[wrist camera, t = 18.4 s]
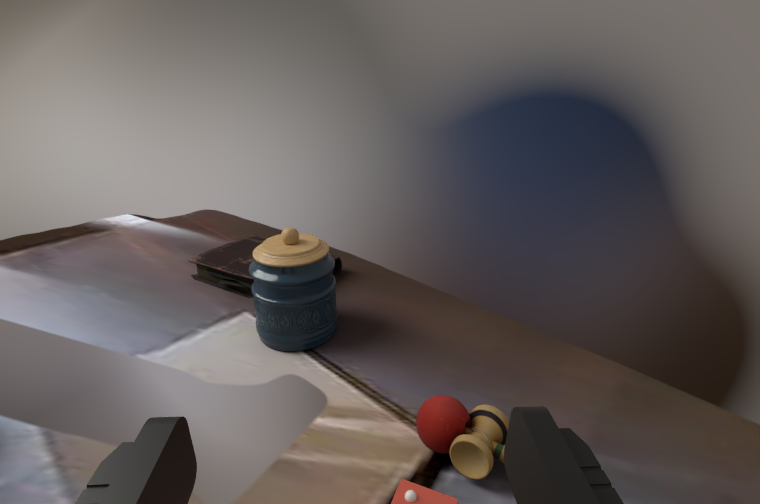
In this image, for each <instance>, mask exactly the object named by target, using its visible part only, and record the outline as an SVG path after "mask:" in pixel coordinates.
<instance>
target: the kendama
mask: <svg viewBox="0 0 760 504" xmlns="http://www.w3.org/2000/svg"><path fill="white" fill-rule="evenodd" d="M416 424H417V431H418V435H419V437H420V439H421V440H422V442H423V443H424V444H425V445H426V446H427V447H428V448H429V449H431V450H433V451H435V452H438V453H443V454H447V453H449V454H450V458H451V461H452V463H453V465H454V467H455V468H456V469H457V470H458V471H459V472H460V473H461V474H462V475H464V476H466V477H468V478H470V479H475V480H479V479H483V478H485V477H487V475H488V474H489V473H490V471H491V470H492V468H493V463H494V460H493V456H494V457H495V458H497V459H498V460H499V461H501V462H502V463H503V464H505V463H504V448H505V443H506V438H507V432H508V427H509V421H508V419H507V417H506V416H505V415H504V413H502V412H501V411H500V410H499V409H497V408H496V407H493V406H490V405H479V406H477V407H475V408H474V409H473V410H472V411H471V413H470V414H468V411H467V410H466V408H465V407H464V405H463V404H462V403H461V402H460V401H458V400H457V399H455V398H453V397H451V396H447V395H437V396H434V397H431V398H429V399H428V400H426V401H425V403H424V404H423V405H422V406H421V408H420V410H419V412H418V415H417V423H416Z"/></svg>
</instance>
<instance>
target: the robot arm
mask: <svg viewBox="0 0 760 504" xmlns="http://www.w3.org/2000/svg"><path fill="white" fill-rule="evenodd" d="M504 463H505V469H506V474H507V477H508V480H509V483H510V485H511V488H512V491H513V494H514V496H515V499H516V502H517V504H623V502H622V500H621V499H620V497H619V495H618V494H617V492H616V490H615V489H614V488H612V486H611V482H610V481H609V479H608V477H607V476H606V474H605V472H604V471H603V470H601V466H600V464H599V462H598V461H597V459H596V458H595V456H594V454H593V453H592V451H591V449H590V448H589V446H588V445H587V444H586V443H585V442H584V441H583V440H582V439H581V438H579V437H578V436H577V435H576V434H575V433H574V432H573V431H572V430H571V429H570V428H561V429H558V427H557V425H556V423H555V421H554V420H553V418H552V416H551V414H550V412H549V411H548V409H547V408H545V407H544V406H540V407H514V408H513V409H512V411H511V416H510V421H509V427H508V432H507V438H506V443H505V448H504ZM196 469H197V463H196V457H195V453H194V449H193V444H192V440H191V436H190V432H189V427H188V423H187V420H186V418H184V417H157V418H150V419H148V420H147V422H146V423H145V424H144V426H143V428H142V429H141V431H140V433H139V434H138V436H137V438H136V440H135V441H134V442H123V443H122V444H121V445H120V446H118V447H117V448H116V449H115V450H114V451H113V452H112V453H111V454H110V455H109V456H108V457H106V458H105V459H104V460H103V461H102V462H101V464H100V465H99V467H98V468H97V470H96V471H95V473H94V475H93V476H92V478H91V479H90V481H89V483H88V484H87V488H86V490H83V492H82V494H81V495H80V497H79V498H78V500H77V502H76V503H75V504H188V501H189V498H190V496H191V493H192V490H193V487H194V483H195V479H196V471H197V470H196Z"/></svg>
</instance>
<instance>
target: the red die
mask: <svg viewBox="0 0 760 504" xmlns="http://www.w3.org/2000/svg"><path fill="white" fill-rule="evenodd" d="M391 504H458V499H456V498H453V497H450V496H447V495H445V494H442V493H439V492H437V491H434V490H431V489H428V488H426V487H423V486H420V485H417V484H415V483H412V482H409V481H407V480H404V479H401V481H400V484H399V486H398V488H397V491H396V493H395V495H394V498H393V500H392V502H391Z"/></svg>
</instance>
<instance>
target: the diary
mask: <svg viewBox="0 0 760 504" xmlns="http://www.w3.org/2000/svg"><path fill="white" fill-rule="evenodd" d="M265 240H266V239H264V238H261V237H258V236H254V235H250V236H248V237H246V238H242V239H240V240H237V241H234V242H231V243H228V244H225V245H222V246H219V247H217V248H214V249H211V250H209V251H206V252H204V253H202V254H200V255H198V256H195V257H193V258H191V259H190V260H189V262H191V263H195V264H196V265H197V271H198V274H197V275H191V276H192V277H193V278H194V279H196V280H199V281H201V282H204V283H207V284H209V285H212V286H215V287H218V288H222V289H225V290H228V291H232V292H234V293H237V294H239V295H242V296H245V297H248V296H250V297H253V294H252V291H251V287H252V284H253V282H254V278H253V277H252V276H251V275H250V273H249V265H250V264H251V262H252V261H253V260H254V258H253V251H254V249H255V248H256V247H257V246H259V245H260V244H262V243H263V242H264V241H265ZM332 256H333V258H334V259H335V267H334V269H333V270H332V274H333V272H335V273H339V274H340V273H341V269H342V262H341V259H340V257H339V256H335V255H332ZM250 297H248V298H250ZM253 298H254V297H253Z"/></svg>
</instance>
